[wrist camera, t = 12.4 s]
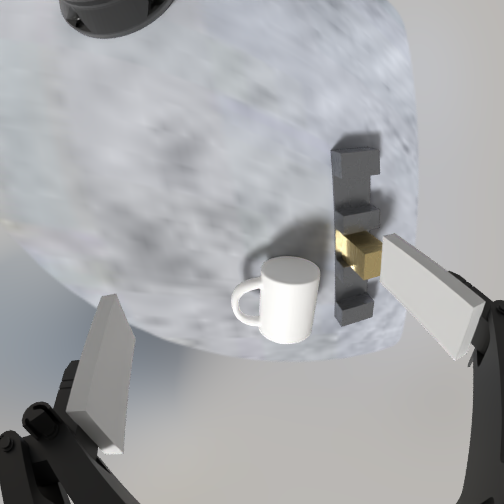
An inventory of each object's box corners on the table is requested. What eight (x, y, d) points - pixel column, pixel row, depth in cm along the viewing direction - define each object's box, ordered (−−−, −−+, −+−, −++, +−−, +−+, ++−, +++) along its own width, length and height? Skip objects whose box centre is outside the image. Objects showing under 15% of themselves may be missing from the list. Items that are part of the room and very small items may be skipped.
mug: (308, 253, 46) (330, 280, 38) (301, 309, 50) (319, 340, 43) (227, 259, 43) (235, 289, 36) (228, 317, 48) (236, 351, 40)
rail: (330, 150, 39) (340, 153, 37) (367, 147, 40) (379, 150, 37) (334, 316, 52) (341, 326, 49) (364, 307, 53) (372, 316, 50)
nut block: (341, 234, 45) (364, 254, 39) (364, 229, 45) (389, 248, 39) (342, 257, 47) (363, 280, 40) (364, 252, 47) (387, 273, 41)
